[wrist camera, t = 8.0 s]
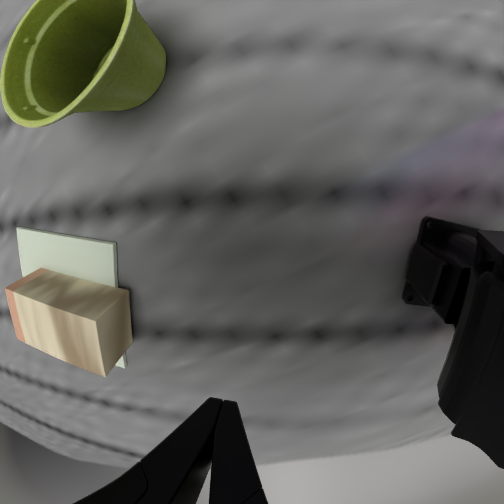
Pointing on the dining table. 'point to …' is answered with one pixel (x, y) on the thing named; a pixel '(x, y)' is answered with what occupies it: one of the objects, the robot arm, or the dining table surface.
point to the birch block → (72, 318)
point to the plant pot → (79, 61)
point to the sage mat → (69, 258)
